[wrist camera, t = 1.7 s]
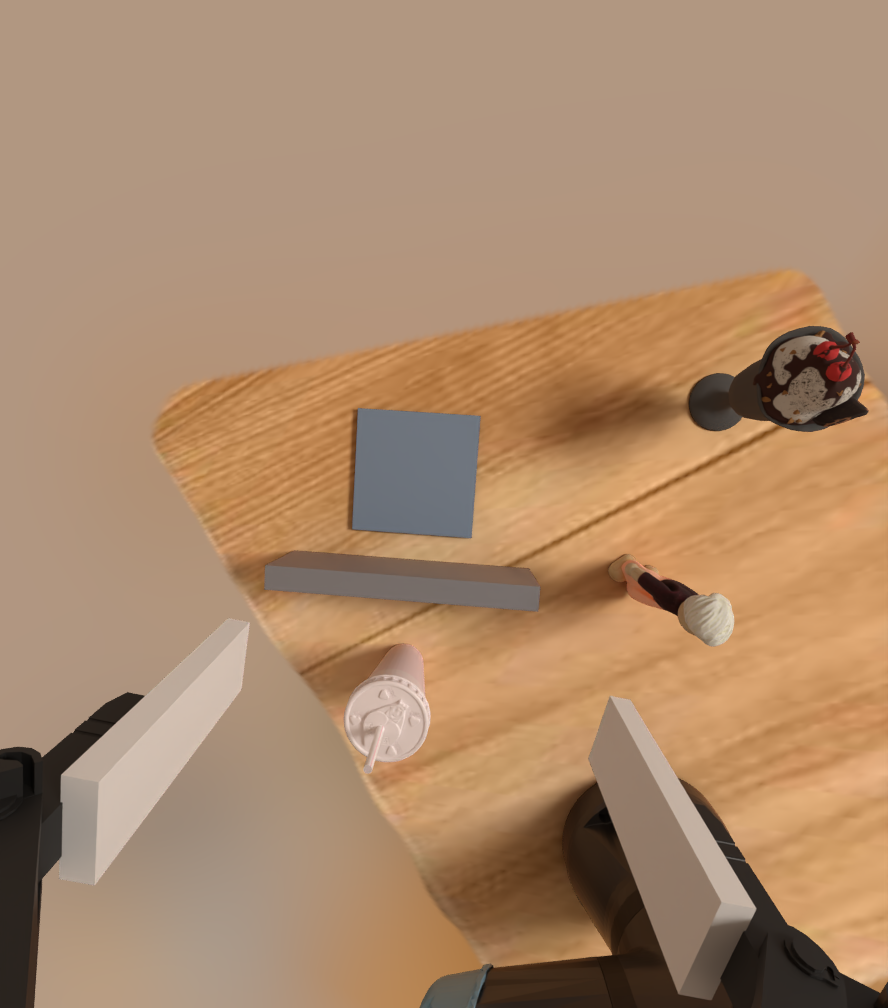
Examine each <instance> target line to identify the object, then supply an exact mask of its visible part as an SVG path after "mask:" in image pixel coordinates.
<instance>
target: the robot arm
mask: <svg viewBox="0 0 888 1008" xmlns="http://www.w3.org/2000/svg"><path fill="white" fill-rule="evenodd" d="M249 625H250V623H249V622H245V621H241V620H236V619H231V618H228V619H227V620H226V621H225V622H224V623H223V624H221V625H220V626H219V627H218V628H217V629H216V630H215V631H214V632H213V633H212V634H211V635H210V636H209V637H208V638H206V639H205V640H204V641H203V642H202V643H201V644H200V645H199V646H198V647H197V648H196V649H195V650H194V651H193V652H192V653H191V654H189V655H188V656H187V657H186V658H185V659H184V660H183V661H182V662H181V663H180V664H179V665H178V666H177V667H176V668H174V669H173V670H172V671H171V672H170V673H169V674H168V675H167V676H166V677H165V678H164V679H163V680H162V681H161V682H160V683H158V684H157V685H156V686H155V687H154V688H153V689H152V690H151V691H150V692H149V693H148V694H147V695H146V696H143V695H138V694H133V693H128V692H127V693H125V694H123V695H121V696H119V697H117V698H115V699H113V700H111V701H109V702H107V703H106V704H105V705H103V706H102V707H101V708H100V709H99V710H97V711H96V712H95V713H94V714H93V715H92V716H90V717H89V719H88V720H87V721H84V722H83V723H82V724H81V725H80V726H79V727H77V728H76V729H75V731H74V732H73V733H70V734H69V735H68V736H67V737H66V738H64V739H63V740H62V741H61V742H60V743H59V744H58V745H57V746H55V747H54V748H53V749H52V750H50V752H48V753H47V754H46V755H45V756H44V757H41V754H40V753H39V752H37V751H36V750H34V749H32V748H26V747H13V748H7V749H1V750H0V1008H34V1000H35V984H36V970H37V954H38V939H39V923H40V909H41V894H42V878H43V877H44V876H45V875H46V873H48V871H49V870H50V869H51V868H52V867H53V866H54V864H55V863H56V862H57V861H58V860H59V859H60V863H59V865H60V866H59V879H62V880H68V881H73V882H79V883H84V884H90V885H95V884H96V883H97V881H98V880H99V879H100V878H101V876H102V875H103V874H104V872H105V871H106V869H107V868H108V867H109V865H110V864H111V863H112V862H113V860H114V859H115V858H116V856H117V855H118V854H119V852H120V851H121V849H122V848H123V847H124V846H125V844H126V843H127V841H128V840H129V839H130V838H131V836H132V835H133V834H134V832H135V831H136V830H137V828H138V827H139V826H140V824H141V823H142V822H143V820H144V819H145V817H146V816H147V815H148V814H149V812H150V811H151V810H152V808H153V807H154V806H155V804H156V803H157V802H158V800H159V799H160V798H161V796H162V795H163V794H164V792H165V791H166V789H167V788H168V787H169V786H170V784H171V783H172V781H173V780H174V779H175V777H176V776H177V775H178V774H179V772H180V771H181V769H182V768H183V767H184V766H185V764H186V763H187V762H188V760H189V759H190V758H191V756H192V755H193V753H194V752H195V751H196V750H197V748H198V747H199V746H200V744H201V743H202V742H203V740H204V739H205V738H206V736H207V735H208V734H209V732H210V731H211V730H212V728H213V727H214V726H215V724H216V722H218V720H219V719H220V717H221V716H222V715H223V713H224V712H225V711H226V709H227V708H228V707H229V706H230V704H231V703H232V702H233V700H234V699H235V698H236V696H237V695H238V693H239V692H240V691H241V690H242V682H243V673H244V665H245V657H246V648H247V641H248V633H249ZM588 759H589V762H590V764H591V767H592V770H593V772H594V775H595V777H596V780H597V784H595V785H594V786H592V787H591V788H590V789H588V790H587V791H586V792H585V793H584V794H583V795H582V796H581V797H580V798H579V800H578V801H577V802H576V803H575V805H574V806H573V808H572V810H571V811H570V813H569V815H568V818H567V820H566V823H565V827H564V832H563V854H564V859H565V863H566V867H567V871H568V875H569V878H570V882H571V884H572V887H573V889H574V892H575V894H576V896H577V898H578V899H579V901H580V903H581V904H582V906H583V907H584V909H585V910H586V912H587V914H588V915H589V917H590V919H591V920H592V922H593V923H594V925H595V927H596V928H597V930H598V931H599V933H600V935H601V936H602V938H603V939H604V941H605V943H606V944H607V946H608V947H609V949H610V950H611V952H612V955H610V956H601V957H588V958H579V959H570V960H561V961H552V962H543V963H534V964H524V965H515V966H506V967H497V968H494V967H493V965H491V964H485V965H484V966H483V967H482V968H481V969H478V970H473V971H468V972H462V973H457V974H451V975H446V976H444V977H441V978H440V979H438V980H437V981H436V982H434V983H433V984H432V986H431V987H430V988H429V990H428V991H427V993H426V995H425V997H424V999H423V1001H422V1003H421V1006H420V1008H888V982H887V984H886V985H885V987H884V989H883V990H882V992H881V993H879V992H877V991H875V990H873V989H871V988H869V987H867V986H865V985H863V984H861V983H859V982H857V981H855V980H853V979H851V978H849V977H847V976H846V975H844V974H842V973H840V972H839V971H838V969H837V968H836V966H835V964H834V963H833V961H832V960H831V959H830V958H829V957H828V956H827V955H826V953H825V952H824V951H823V950H822V949H821V948H820V947H819V946H818V945H817V944H816V943H815V942H814V941H812V940H811V939H810V938H809V937H808V936H807V935H805V934H804V933H802V932H800V931H799V930H797V929H795V928H794V927H792V926H789V925H787V923H786V922H785V920H784V918H783V917H782V915H781V914H780V912H779V911H778V909H777V908H776V906H775V905H774V903H773V901H772V900H771V898H770V897H769V895H768V894H767V892H766V891H765V889H764V887H763V886H762V884H761V883H760V881H759V880H758V878H757V877H756V875H755V874H754V872H753V870H752V869H751V867H750V866H749V864H748V863H746V862H745V858H744V856H743V855H742V853H741V852H740V850H739V849H738V847H735V842H734V841H733V839H732V838H731V836H730V834H729V832H728V830H727V828H726V826H725V824H724V823H723V821H722V820H721V818H720V817H719V816H718V814H717V813H716V812H715V810H714V809H713V807H712V806H711V805H710V803H709V802H708V801H707V799H706V798H705V797H704V796H703V795H702V794H701V793H700V792H699V791H698V790H697V789H695V788H694V787H693V786H691V785H690V784H688V783H687V782H685V781H683V780H681V779H679V778H677V776H676V775H675V773H674V771H673V770H672V768H671V766H670V765H669V763H668V761H667V760H666V758H665V756H664V755H663V753H662V751H661V750H660V748H659V746H658V745H657V743H656V741H655V740H654V738H653V736H652V735H651V733H650V732H649V730H648V728H647V727H646V725H645V723H644V722H643V720H642V718H641V717H640V715H639V713H638V712H637V710H636V708H635V707H634V705H633V703H632V702H631V700H628V699H623V698H618V697H614V696H610V697H609V700H608V703H607V706H606V709H605V712H604V714H603V717H602V720H601V723H600V726H599V729H598V732H597V735H596V738H595V741H594V744H593V747H592V749H591V752H590V755H589V758H588Z"/></svg>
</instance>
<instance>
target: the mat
mask: <svg viewBox="0 0 888 1008" xmlns="http://www.w3.org/2000/svg"><path fill="white" fill-rule="evenodd" d="M479 429H480V416H472V415H456V414H440V413H425V412H409V411H393V410H377V409H361V408H358V420H357V441H356V462H355V482H354V503H353V524H352V529H356V530H369V531H383V532H396V533H410V534H423V535H437V536H450V537H464V538H471V537H472V523H473V510H474V496H475V483H476V469H477V456H478V442H479Z"/></svg>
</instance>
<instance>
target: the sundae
mask: <svg viewBox="0 0 888 1008" xmlns="http://www.w3.org/2000/svg"><path fill="white" fill-rule="evenodd" d="M846 339H847V340H846ZM846 339H845V337H843V336H842V335H841V334H840V333H838V332H837V331H835V330H833V329H831V328H827V327H821V326H808V327H804V328H799V329H796V330H793V331H790V332H787V333H785V334H783V335H782V336H780V337H778V338H777V339H776V340H774V341H773V342H772V343H771V344H770V345H769V347H768V348H767V349H766V351H765V353H764V356H763V358H762V359H761V360H759V361H757V362H755V363H753V364H752V365H750V366H749V367H747V368H746V369H745V370H743V371H742V372H741V373H739V374H738V375H737V376H736V377H733V376H731V375H729V374H722V373H717V374H712V375H709V376H706V377H705V378H703V379H702V380H701V381H700V382H698V383H697V384H696V386H695V387H694V389H693V391H692V393H691V396H690V401H689V407H690V412H691V415H692V417H693V418H694V420H695V421H696V422H697V424H698V425H700V426H701V427H703V428H705V429H707V430H712V431H721V430H726V429H728V428H731V427H732V426H734V425H735V424H736V423H738V422H739V421H740V420H741V418H742V417H744V418H749V419H754V420H760V421H771V422H773V423H775V424H777V425H779V426H782V427H785V428H787V429H790V430H795V431H803V432H813V431H818V430H822V429H825V428H828V427H829V426H833V425H837V424H840V423H844V422H846V421H849V420H851V419H854V418H857V417H861V416H864V415H866V414H867V413H868V411H869V410H868V409H867V408H866V407H865V406H863V405H862V404H861V403H860V402H859V401H858V398H859V397H860V395H861V392H862V389H863V386H864V377H865V374H864V370H863V366H862V363H861V361H860V358H859V357H858V355H857V354H856V352H855V350H856V344H858V343H860V342H859V341H858V340H856V339H855V337H854V335H853V332H852V333H849V334H848V335H846ZM851 344H852V346H853V348H852V346H851Z"/></svg>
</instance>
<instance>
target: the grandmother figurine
mask: <svg viewBox="0 0 888 1008" xmlns="http://www.w3.org/2000/svg"><path fill="white" fill-rule="evenodd" d="M608 573H609V575H610V577H611V578H612V579H613V580H614V581H616V582H624V581H627V592H628V594H629V595H630V596H631V597H632V598H633V599H635V600H637V601H639V602H641V603H643V604H646V605H648V606H652V607H656V608H659V609H663V610H666V611H669V612H671V613H673V614H675V615H676V616H678V619H679V622H680V624H681V626H682V627H683V628H684V629H685V630H686V631H687V632H689V633H691V634H693V635H696V636H697V637H698V638H699V639H701V640H702V641H703V642H704V643H705V644H707V645H709V646H718V645H720V644H723V643H724V642H725V641H727V640H728V638H729V637H730V635H731V633H732V630H733V627H734V615H733V612H732V610H731V609H732V606H731V604H730V602H729V600H728V599H727V598H725V597H724V596H723V595H721V594H719V593H712V594H711V595H709V596H705V595H698V594H697V593H696V592H695V591H693V590H691V589H690V588H688V587H687V586H685V585H684V584H682V583H680V582H677V581H675V580H672V579H669V578H666V577H662V576H659V572H658V570H657V569H656V568H655V567H653V566H650V565H647V566H642V565H641V564H640V563H638V562H637V561H636V559H635V558H634V557H633V556H632V555H629V554H626V555H624V556H622V557H621V558H619V559H618V560H616V561H615V562H614V563H612V564H611V565H610V567H609V569H608Z"/></svg>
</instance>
